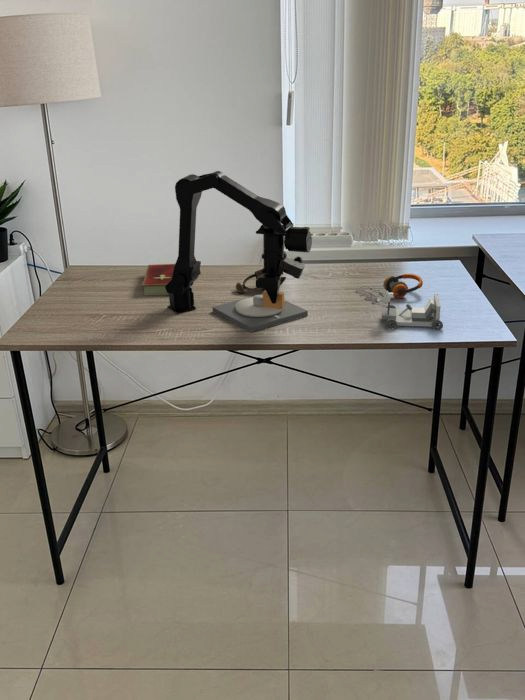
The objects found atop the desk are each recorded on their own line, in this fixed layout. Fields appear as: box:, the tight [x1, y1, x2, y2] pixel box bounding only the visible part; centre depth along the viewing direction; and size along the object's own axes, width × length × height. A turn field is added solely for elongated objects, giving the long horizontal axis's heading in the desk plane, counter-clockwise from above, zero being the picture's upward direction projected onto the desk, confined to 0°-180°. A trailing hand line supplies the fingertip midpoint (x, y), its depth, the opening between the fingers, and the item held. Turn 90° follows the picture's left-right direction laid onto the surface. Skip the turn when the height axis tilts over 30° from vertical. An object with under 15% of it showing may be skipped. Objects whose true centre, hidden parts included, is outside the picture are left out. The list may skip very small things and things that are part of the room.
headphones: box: [355, 273, 424, 305], centre depth 226 cm, size 16×5×20 cm
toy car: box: [376, 290, 444, 331], centre depth 205 cm, size 18×10×12 cm
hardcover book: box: [141, 263, 175, 296], centre depth 240 cm, size 12×21×4 cm, turn 3°
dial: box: [236, 290, 285, 317], centre depth 213 cm, size 14×14×6 cm
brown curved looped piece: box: [235, 268, 266, 294], centre depth 233 cm, size 7×13×10 cm
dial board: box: [212, 293, 309, 333], centre depth 215 cm, size 20×20×2 cm
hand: (273, 303), depth 209 cm, fingers closed
